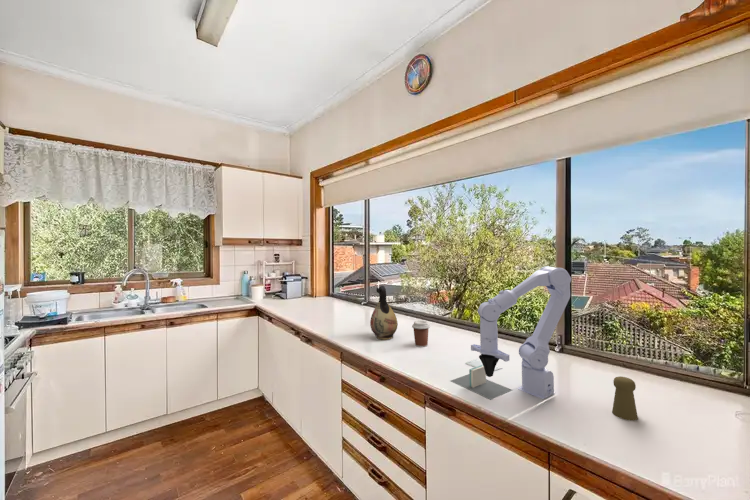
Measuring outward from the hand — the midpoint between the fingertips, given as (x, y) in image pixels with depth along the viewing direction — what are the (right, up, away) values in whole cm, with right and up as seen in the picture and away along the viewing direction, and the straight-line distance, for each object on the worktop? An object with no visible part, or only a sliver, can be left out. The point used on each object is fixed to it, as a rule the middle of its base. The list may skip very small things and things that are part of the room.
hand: (489, 375), depth 111 cm
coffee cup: (-16, -5, +53) cm, 56 cm away
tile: (-3, -5, +4) cm, 7 cm away
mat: (-2, -5, +4) cm, 7 cm away
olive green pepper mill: (+34, -5, -17) cm, 38 cm away
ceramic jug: (-35, -6, +67) cm, 76 cm away
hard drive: (+5, -6, +22) cm, 23 cm away
